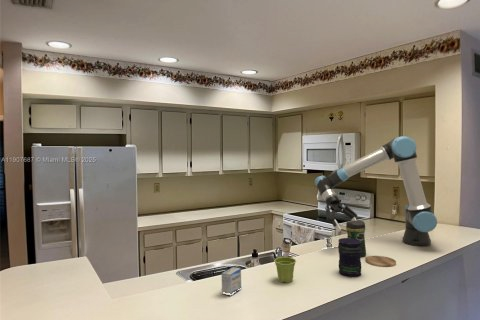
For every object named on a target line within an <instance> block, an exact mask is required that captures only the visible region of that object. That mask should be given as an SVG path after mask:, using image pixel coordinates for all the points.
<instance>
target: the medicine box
mask: <svg viewBox="0 0 480 320" xmlns="http://www.w3.org/2000/svg"><path fill="white" fill-rule="evenodd" d="M240 288H241V289H242V268H240V267H234V266H232V267H230V268H229V269H227V270H225V271H223V272H221V293H222V292H225V293H230V294H232V293H233V292H235V291H237V290H238V289H240Z"/></svg>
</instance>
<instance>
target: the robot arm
mask: <svg viewBox="0 0 480 320" xmlns="http://www.w3.org/2000/svg"><path fill="white" fill-rule="evenodd" d="M416 151H417V144H416V142H415V140H414V139H413V138H412V137H409V136H405V135H404V136H403V135H401V136H397V137H395V138H393V139H391V140H389V141H388V142H387V143H385V144H383V145H381V146H380V148H379V149H377V150H375V151H372V152H371V153H368V154H367V155H364V156H362V157H360V158H358V159H355V160H353V161H352V162H350V163H348V164H346V165H344V166H341V167H339V168H337V169H335V170H333V171H332V172H331V174H329V175H326V176H325V175H320V176H317V177H316V178H315V179H314V185H315V186H316V189H317V190H318V192H319V193H320V195H321V197H322V199H323V200H324V202H325V204H326V206H325V207H324V209H325V215H326V221H327V222H329V224H330V223H331V224H332V226H333V227H334V228H335V230H336V232H337V233H340V232H341V231H342V228H341V226H340V225H339V222H338V221H337V220H336V219H335V216H336V214H339V213H340V214H343V215H344V216H347V218H349V219H351V221H357V220H358V219H357V217H358V214H357V213H356V212H355V211H353V209H351V208H350V207H349V206H348V205H347V203H345V202H344V203H343V204H342V203H341V201H340V198H339V197H338V196H337V194H336V192H335V190H334V189H333V188H335V187H337V186H339V185H340V184H342V183H344V182H346V181H347V180H348V179H350V177H352V176H354V175H356V174H359V173H361V172H363V171H364V170H365V171H366V170H367V169H369V168H371V167H374V166H376V165H378V164H381V163H383V162H385V161H390V160H392V159H393V160H394V163H395V164H397V165H398V167H399V171H400V174H401V179H402V181H403V186H404V189H405V192H406V193H405V194H406V196H407V201H408V204H406V205H405V208H404V210H405V211H404V212H405V214H404V215H405V224H404V225H405V229H404V232H403V236H402V243H403V244H405V245H409V246H414V247H415V246H417V247H428V246H429V247H430V246H431V245H432V239H431V237H430V235H429V232H432V231H434V229H436V227H437V225H438V219H437V217H436V215H435V214H434V212H433V209H432V205H431V204H429V203H428V202H427V199H426V196H425V192H424V189H423V185H422V181H421V177H420V173H419V169H418V166H417V162H416V160H417V159H418V155H417V152H416Z"/></svg>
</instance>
